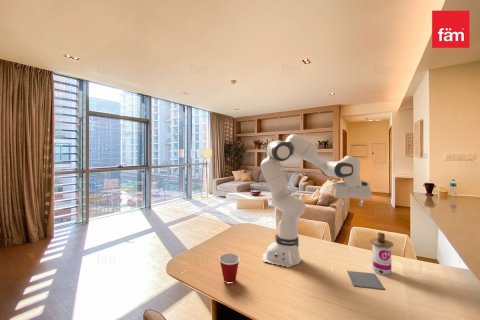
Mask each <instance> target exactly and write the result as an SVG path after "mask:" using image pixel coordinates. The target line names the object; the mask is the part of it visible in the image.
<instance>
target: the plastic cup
mask: <svg viewBox="0 0 480 320" xmlns="http://www.w3.org/2000/svg"><path fill="white" fill-rule="evenodd" d="M218 259H219V264H220V267H221V268H220V269H221V273H222V277H223V282H224V281H226V282H234V281H235V282H236V281H237V273H238V268H239V267H238V266H239V263H240V261H241V257H240V256H239V255H238V254H236V253H232V252H231V253H230V252H226V253H222V254H221V255H219V257H218ZM235 282H234V283H235Z"/></svg>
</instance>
